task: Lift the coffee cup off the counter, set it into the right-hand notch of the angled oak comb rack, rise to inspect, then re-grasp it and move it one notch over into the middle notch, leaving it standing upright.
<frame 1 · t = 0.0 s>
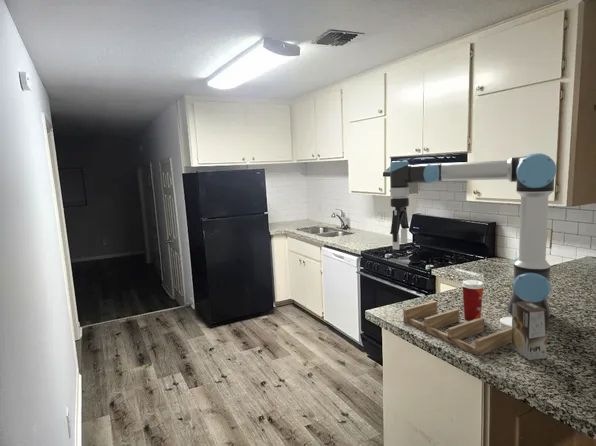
hand: (400, 246, 168), 28 cm above the counter, fingers open, 13 cm apart
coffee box: (528, 353, 128), on the counter
oak rack: (460, 328, 148), on the counter
white round dish: (514, 330, 145), on the counter
coffee cup: (472, 318, 158), on the counter
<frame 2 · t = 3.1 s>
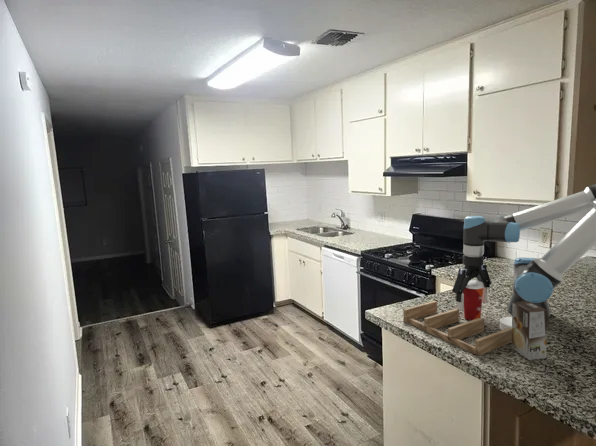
hand: (471, 305, 157), 5 cm above the counter, fingers open, 13 cm apart
nothing on the counter moved.
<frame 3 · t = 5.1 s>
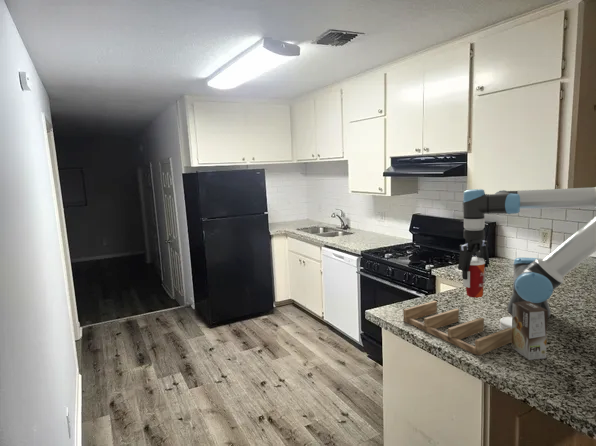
hand: (474, 284, 155), 14 cm above the counter, fingers closed on coffee cup, 8 cm apart
coffee cup: (474, 295, 156), point 9 cm above the counter, touching gripper
everything else where it was.
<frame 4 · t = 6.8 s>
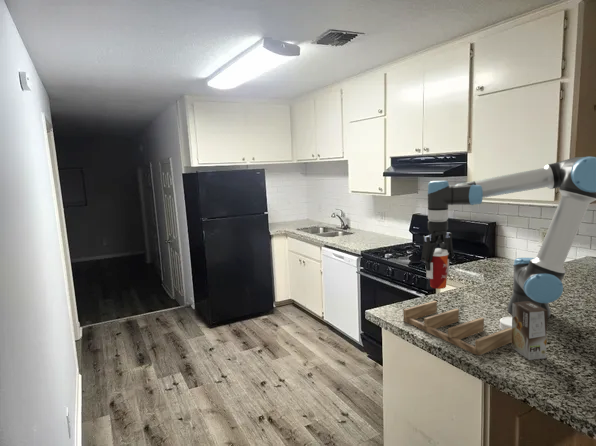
hand: (437, 276, 155), 18 cm above the counter, fingers closed on coffee cup, 8 cm apart
coffee cup: (438, 286, 156), point 14 cm above the counter, touching gripper
everything else where it was.
when the fingers open (4 cm above the counter, at t = 9.1 s): coffee cup stays where it is, on the counter.
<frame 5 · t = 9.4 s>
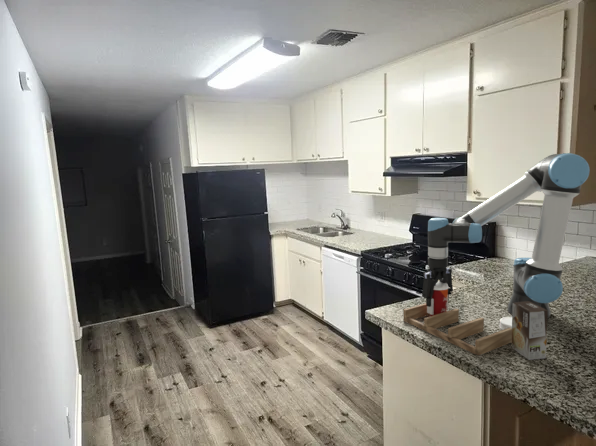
hand: (437, 311, 158), 3 cm above the counter, fingers open, 7 cm apart
coffee cup: (437, 319, 158), on the counter, touching gripper
everything else where it was.
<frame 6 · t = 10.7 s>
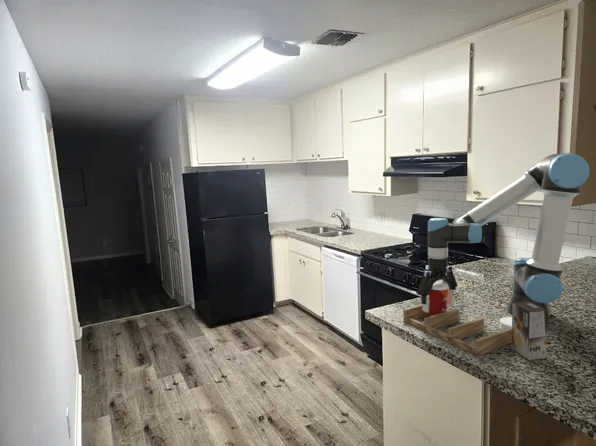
hand: (437, 307, 157), 5 cm above the counter, fingers open, 13 cm apart
coffee cup: (437, 319, 158), on the counter
everything else where it was.
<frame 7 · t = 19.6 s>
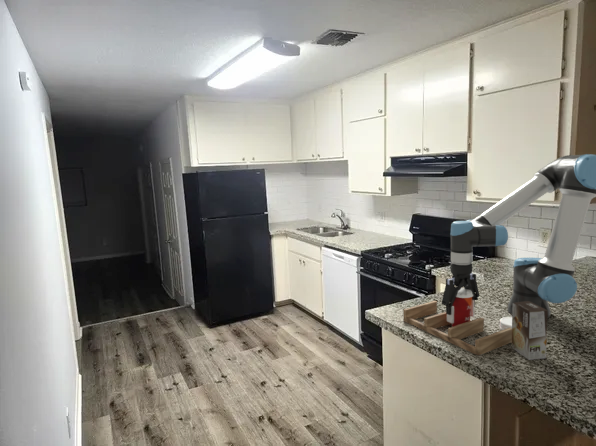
hand: (460, 318, 148), 4 cm above the counter, fingers open, 10 cm apart
coffee cup: (460, 328, 148), on the counter
everything else where it was.
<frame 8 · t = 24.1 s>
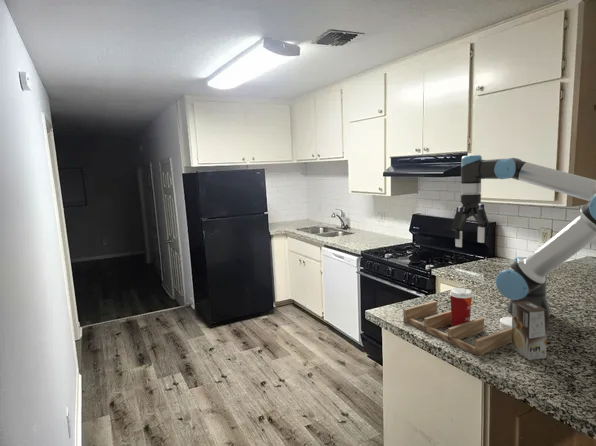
hand: (470, 244, 161), 29 cm above the counter, fingers open, 13 cm apart
nothing on the counter moved.
at the end: coffee cup inside the target area (0.4 cm from its centre), on the counter; coffee cup tilted 0°; the gripper is holding nothing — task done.
